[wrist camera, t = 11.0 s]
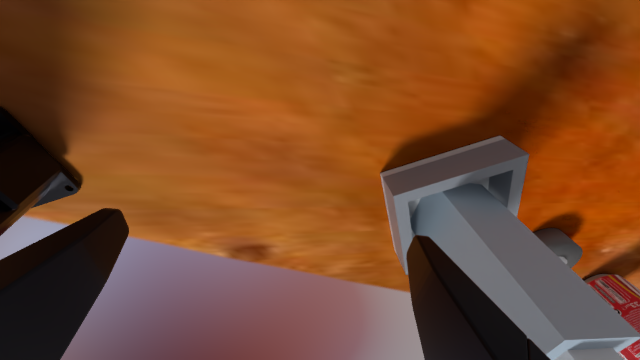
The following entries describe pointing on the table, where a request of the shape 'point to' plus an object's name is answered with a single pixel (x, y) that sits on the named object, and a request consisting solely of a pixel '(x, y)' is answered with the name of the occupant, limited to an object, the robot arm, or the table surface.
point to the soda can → (620, 304)
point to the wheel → (560, 245)
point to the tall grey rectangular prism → (522, 275)
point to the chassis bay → (452, 182)
